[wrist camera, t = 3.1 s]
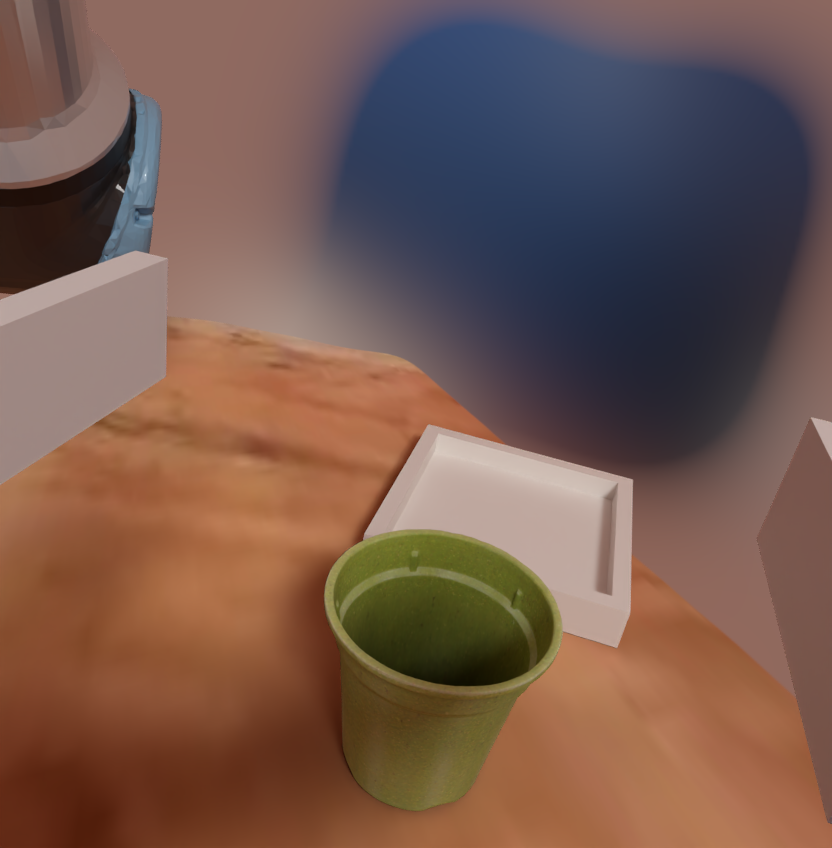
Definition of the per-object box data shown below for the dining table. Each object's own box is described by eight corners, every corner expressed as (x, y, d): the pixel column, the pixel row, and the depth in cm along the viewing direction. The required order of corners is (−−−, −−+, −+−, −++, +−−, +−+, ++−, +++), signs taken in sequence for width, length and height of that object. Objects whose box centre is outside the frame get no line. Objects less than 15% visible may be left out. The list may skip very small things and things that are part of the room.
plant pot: (261, 792, 31) (278, 630, 27) (356, 644, 39) (380, 503, 35) (480, 894, 29) (534, 734, 25) (533, 716, 37) (580, 573, 33)
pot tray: (358, 568, 45) (364, 533, 43) (422, 453, 58) (428, 424, 57) (616, 648, 42) (630, 613, 41) (622, 508, 55) (632, 479, 54)
